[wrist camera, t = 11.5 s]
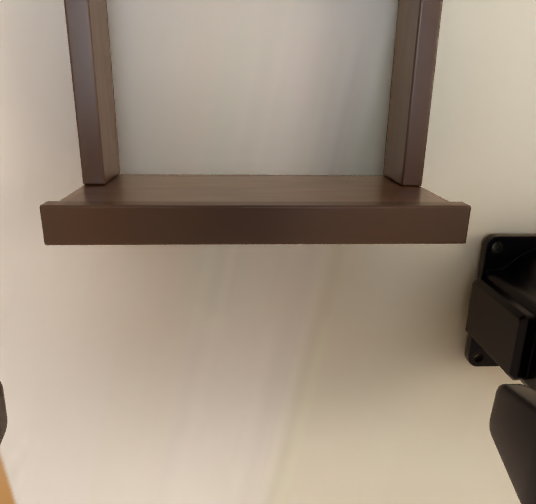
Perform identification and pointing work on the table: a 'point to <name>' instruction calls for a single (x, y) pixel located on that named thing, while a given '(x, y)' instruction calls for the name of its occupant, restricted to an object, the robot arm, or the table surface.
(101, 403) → the table surface
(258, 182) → the spice rack
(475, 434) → the table surface
